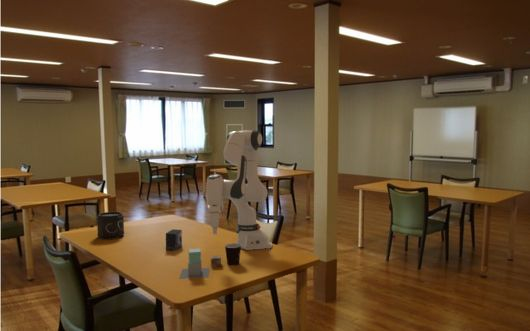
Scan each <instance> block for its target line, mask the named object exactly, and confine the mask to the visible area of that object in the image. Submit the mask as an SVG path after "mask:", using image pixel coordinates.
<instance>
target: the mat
mask: <svg viewBox="0 0 530 331" xmlns="http://www.w3.org/2000/svg"><path fill="white" fill-rule="evenodd" d="M210 271H211V268H210V267H202V271H201V275H188V268H182V269H181V272H180V275H179V278H178V279H180V280H182V279H184V280H185V279H204V278H205V279H207V278H208V279H209V274H210Z"/></svg>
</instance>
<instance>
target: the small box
mask: <svg viewBox="0 0 530 331" xmlns="http://www.w3.org/2000/svg"><path fill="white" fill-rule="evenodd" d="M182 230H183V229H171V230H169V231H167V232H166V233H165V251H176V250H178V249H180V248H181V247H182V246H183V243H182V242H183V240H182V239H183V235H182V234H183V231H182Z"/></svg>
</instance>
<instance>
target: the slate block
mask: <svg viewBox="0 0 530 331" xmlns="http://www.w3.org/2000/svg"><path fill="white" fill-rule="evenodd" d="M202 268H203V267H202V262H201V263H189V261H188V262H187V269H188V275H201V271H202Z"/></svg>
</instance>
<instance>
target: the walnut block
mask: <svg viewBox="0 0 530 331" xmlns="http://www.w3.org/2000/svg"><path fill="white" fill-rule="evenodd" d="M221 263H222V255H219V254H218V255H211V257H210V267H211V268H217V267H218V268H221V267H222V266H221V265H222V264H221Z"/></svg>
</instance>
